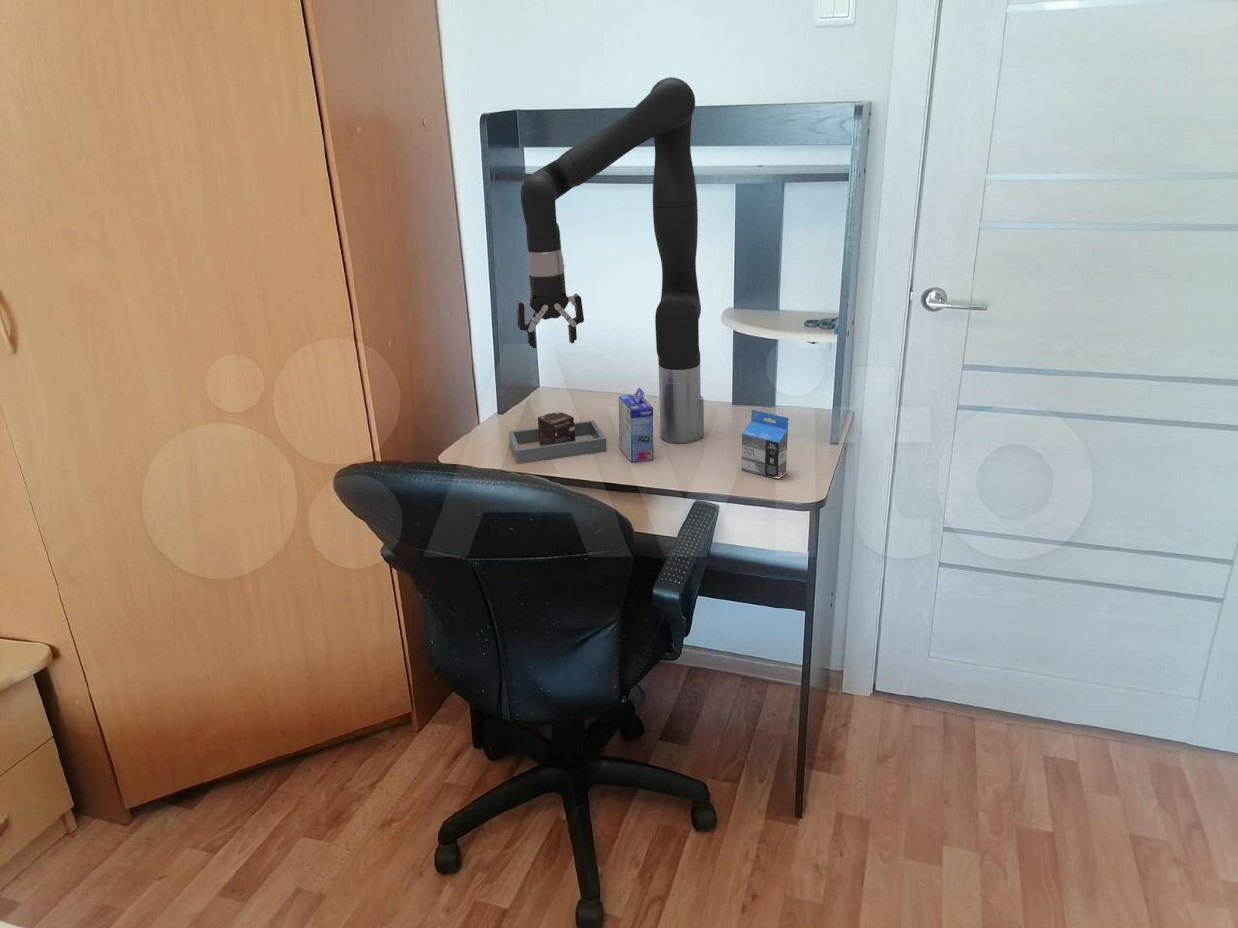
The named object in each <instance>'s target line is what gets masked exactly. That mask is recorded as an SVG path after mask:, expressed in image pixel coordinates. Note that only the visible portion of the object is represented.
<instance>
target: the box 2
mask: <svg viewBox="0 0 1238 928" xmlns="http://www.w3.org/2000/svg"><path fill="white" fill-rule="evenodd" d="M574 429H575V437H580V436H587V435H591V436H592V437H593V438H587V439H581V440H580V439H579V440H575V441H572V442H565V443H558V444H550V445H543V446H540V445H537V446H529V447H524V448H520V446H519V445H520V444H522V445H523V444H528V443H535V442H540V441H539V428H538V427H532V428H531V427H530V428H524V429H517V430H516V429H515V430H510V431H509V430H508V432H507V433H508V441H509V442H508V443H509V445H510V448H511V451H512V454H513V456H514V459H515V461H516V464H517V463H519V464H524V463H531V462H532V463H533V462H539V461H546V460H554V459H559V458H567V457H574V456H581V455H582V456H583V455H588V454H589V455H590V454H595V453H601V452H602V453H603V452H607V450H608V449H607V437H606V436H605V435H604V433H603V432H602V430H601V429H600V427H599V424H598V423H597V422H596V421H595V419H592V420H591V419H590V420H585V421H584V420H583V421H576V422H575V421H574Z"/></svg>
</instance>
